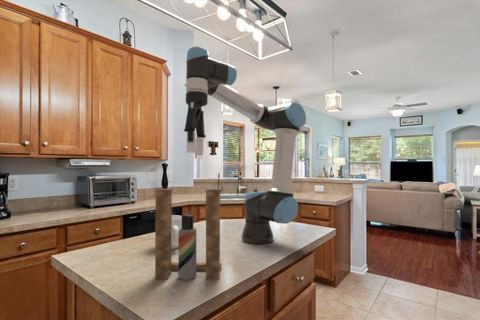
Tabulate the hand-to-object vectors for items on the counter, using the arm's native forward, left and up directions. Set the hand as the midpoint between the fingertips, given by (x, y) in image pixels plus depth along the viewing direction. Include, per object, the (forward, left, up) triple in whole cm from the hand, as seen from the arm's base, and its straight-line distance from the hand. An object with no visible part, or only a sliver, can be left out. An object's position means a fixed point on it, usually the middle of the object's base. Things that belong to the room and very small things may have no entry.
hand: (195, 153), depth 93 cm
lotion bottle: (+1, +6, -40) cm, 40 cm away
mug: (+15, -24, -40) cm, 49 cm away
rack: (+1, +3, -40) cm, 40 cm away
